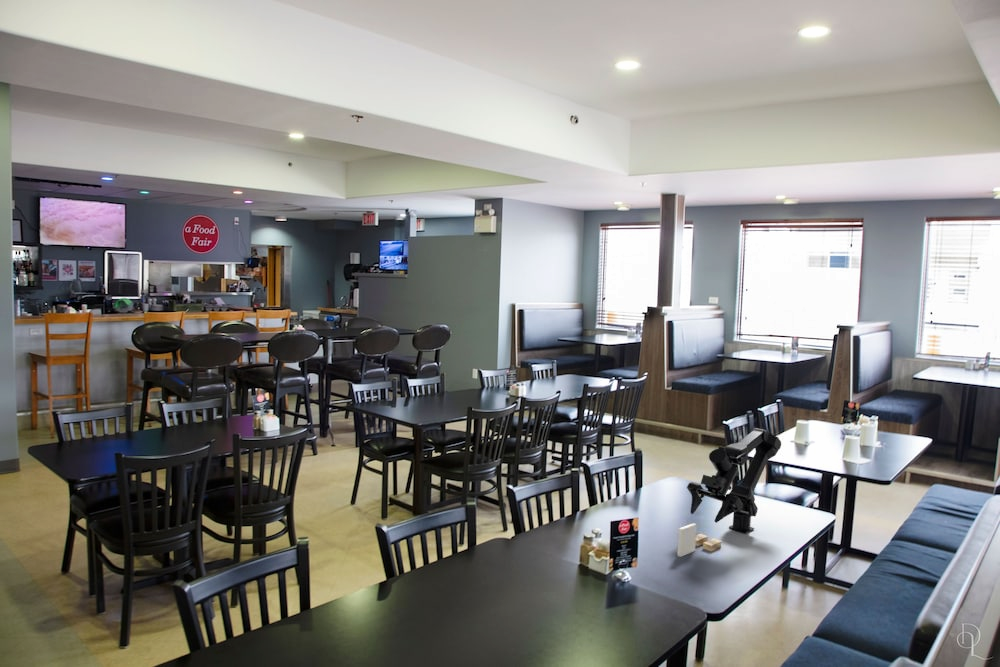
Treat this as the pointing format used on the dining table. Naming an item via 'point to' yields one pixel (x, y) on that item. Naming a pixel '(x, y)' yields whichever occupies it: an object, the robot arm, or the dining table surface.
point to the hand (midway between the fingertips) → (703, 517)
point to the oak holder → (707, 542)
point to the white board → (686, 539)
